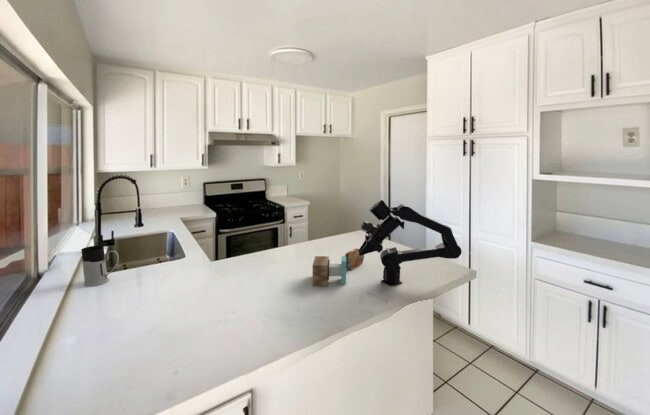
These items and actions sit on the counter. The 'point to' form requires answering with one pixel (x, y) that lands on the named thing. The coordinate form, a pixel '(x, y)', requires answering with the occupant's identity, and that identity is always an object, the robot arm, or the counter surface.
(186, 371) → the counter surface
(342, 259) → the teal flanged block
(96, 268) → the grey black mug
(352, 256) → the tin
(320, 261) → the block
